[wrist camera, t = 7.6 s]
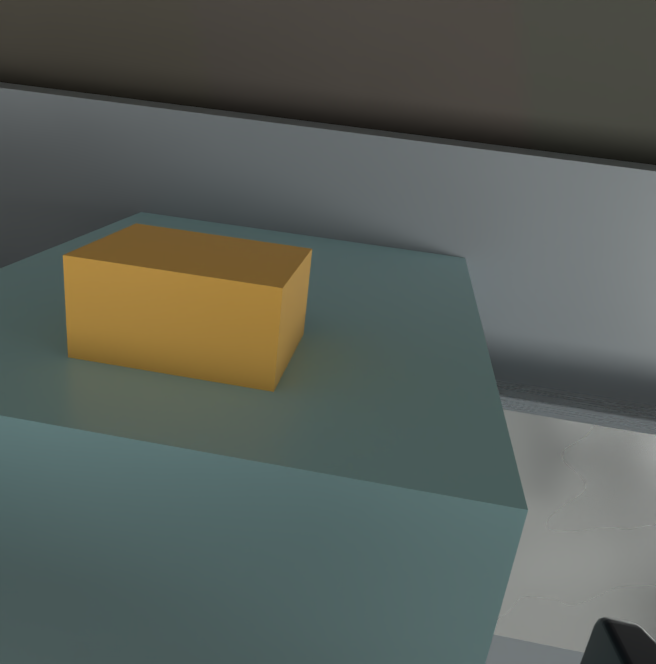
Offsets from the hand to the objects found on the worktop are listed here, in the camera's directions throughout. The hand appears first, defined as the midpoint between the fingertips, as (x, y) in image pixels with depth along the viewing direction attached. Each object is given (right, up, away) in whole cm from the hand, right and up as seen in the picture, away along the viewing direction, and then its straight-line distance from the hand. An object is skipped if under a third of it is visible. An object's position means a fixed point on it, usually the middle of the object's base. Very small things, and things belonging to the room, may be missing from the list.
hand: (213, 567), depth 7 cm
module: (+1, +1, +3) cm, 3 cm away
